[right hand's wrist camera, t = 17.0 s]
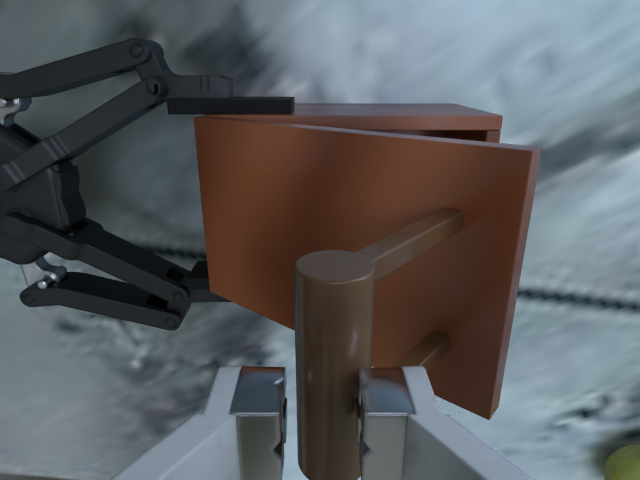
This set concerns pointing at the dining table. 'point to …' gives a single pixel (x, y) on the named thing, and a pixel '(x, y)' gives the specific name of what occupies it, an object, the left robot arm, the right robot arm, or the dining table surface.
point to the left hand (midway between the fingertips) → (294, 195)
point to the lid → (368, 259)
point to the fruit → (623, 463)
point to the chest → (393, 119)
